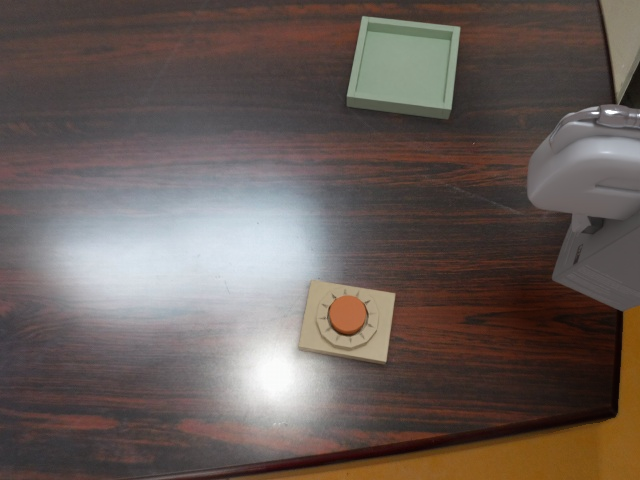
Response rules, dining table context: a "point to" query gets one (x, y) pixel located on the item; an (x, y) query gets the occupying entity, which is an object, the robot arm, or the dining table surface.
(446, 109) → the shallow square tray
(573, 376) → the dining table surface
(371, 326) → the orange push button box
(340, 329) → the button
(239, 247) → the dining table surface
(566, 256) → the cosmetic box
